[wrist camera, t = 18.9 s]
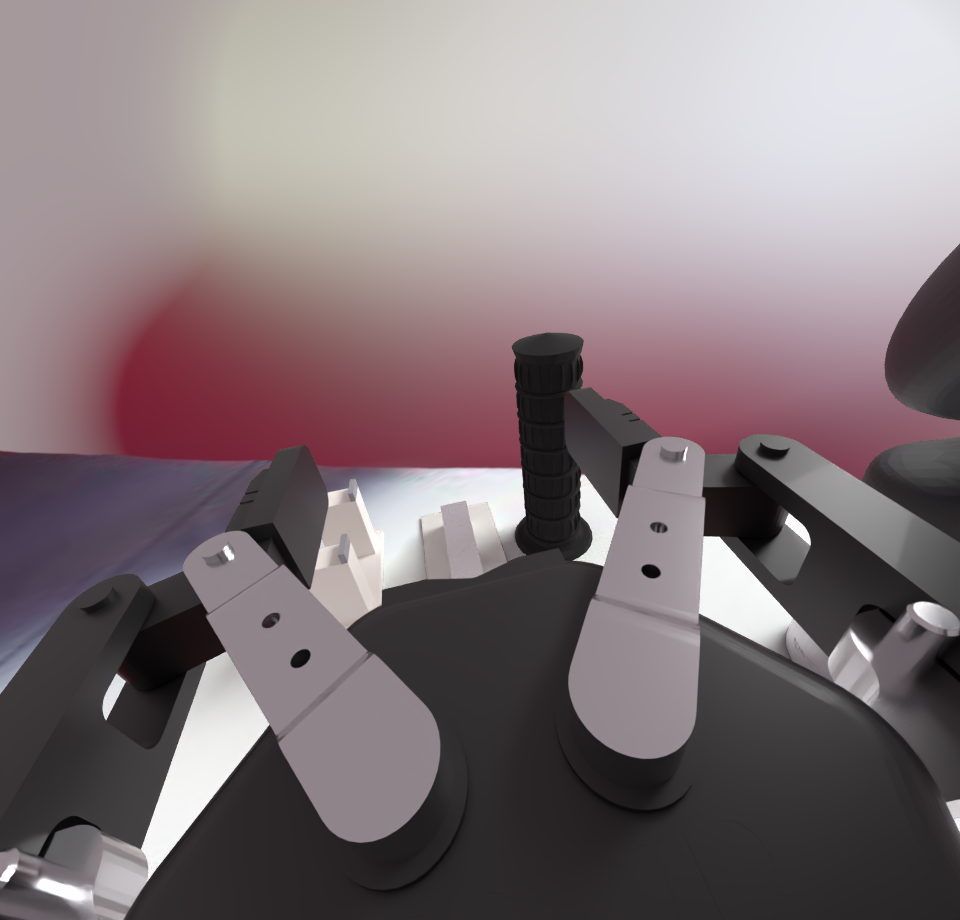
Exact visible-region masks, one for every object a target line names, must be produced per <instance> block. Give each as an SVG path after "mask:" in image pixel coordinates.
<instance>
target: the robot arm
mask: <svg viewBox="0 0 960 920" xmlns="http://www.w3.org/2000/svg"><path fill="white" fill-rule="evenodd" d="M885 378H886V381H887V384H888V387H889V389H890V391H891V392H892V394H893V395H894V396H895V398H896V399H897V400H899V401H900V402H901V403H903V404H904V405H905V406H907V407H909V408H912V409H914V410H917V411H920V412H923V413H926V414H930V415H934V416H937V417H942V418H947V419H955V420H960V244H959V245H958V246H957V247H956V248H955V250H953V251H952V252H951V253H950V254H949V256H948V257H947V258H946V259H945V260H944V261H943V262H942V263H941V264H940V265H939V266H938V268H937V269H936V270H935V271H934V272H933V274H932V275H931V276H930V277H929V278H928V279H927V281H926V282H925V283H924V284H923V285H922V287H921V288H920V290H919V291H918V292H917V294H916V295H915V296H914V298H913V299H912V301H911V302H910V304H909V305H908V307H907V309H906V310H905V312H904V314H903V316H902V317H901V319H900V320H899V322H898V324H897V326H896V328H895V330H894V332H893V334H892V337H891V339H890V342H889V345H888V348H887V352H886V358H885ZM564 418H565V442H566V446H567V449H568V451H569V453H570V455H571V456H572V458H573V459H574V460H575V462H576V463H577V465H578V466H579V467H580V469H581V470H582V471H583V473H584V474H585V476H586V477H587V478H588V480H589V481H590V482H591V484H592V485H593V486H594V488H595V489H596V491H597V492H598V493H599V495H600V496H601V497H602V499H603V500H604V502H605V503H606V504H607V506H608V507H609V508H610V510H611V511H612V512H613V514H614V515H615V517H616V518H618V521H617V525H616V528H615V531H614V535H613V538H612V541H611V545H610V548H609V551H608V555H607V558H606V562H605V565H604V567H603V566H600V565H597V564H593V563H588V562H582V561H565V560H564V558H563V556H562V554H561V551H560V549H559V548H556V549H552V550H548V551H543V552H539V553H535V554H531V555H527V556H522V557H518V558H515V559H513V560H511V561H509V562H507V563H505V564H503V565H501V566H498V567H496V568H494V569H492V570H490V571H488V572H486V573H484V574H482V575H479V576H477V577H474V578H458V579H426V580H422V581H418V582H413V583H409V584H405V585H401V586H397V587H392V588H388V589H384V590H382V604H381V605H380V606H378V607H376V608H375V609H373V610H371V611H369V612H368V613H366V614H365V615H363V616H362V617H360V618H359V619H358V620H356V621H355V622H354V623H353V624H352V625H351V626H349V627H348V628H347V629H345V627H344V626H343V625H342V624H341V623H340V622H339V621H338V620H337V619H336V618H335V617H334V616H333V615H332V614H331V613H330V612H329V611H328V610H327V609H326V608H325V607H324V606H323V605H322V604H321V603H320V602H319V600H318V599H317V598H316V597H315V596H314V595H313V594H312V593H311V592H310V591H309V590H310V589H311V585H312V581H313V576H314V571H315V567H316V562H317V557H318V553H319V548H320V543H321V539H322V534H323V529H324V525H325V520H326V515H327V511H328V506H329V500H328V493H327V489H326V487H325V484H324V482H323V480H322V477H321V475H320V473H319V470H318V468H317V466H316V463H315V461H314V459H313V457H312V454H311V452H310V450H309V449H308V447H307V446H306V445H302V446H297V447H292V448H287V449H282V450H278V451H277V453H276V455H275V457H274V459H273V461H272V463H271V466H270V468H269V469H265V470H263V471H262V472H261V473H260V474H259V475H258V476H256V477H255V478H254V479H253V480H252V481H251V483H250V484H249V486H248V488H247V490H246V492H245V495H244V496H243V498H242V500H241V502H240V505H239V506H238V508H237V510H236V511H235V513H234V515H233V517H232V519H231V521H230V523H229V525H228V527H227V529H226V531H225V533H223V534H220V535H217V536H215V537H213V538H211V539H209V540H207V541H206V542H204V543H202V544H201V545H200V546H198V547H197V548H196V549H195V550H194V551H193V552H192V553H191V554H190V555H189V556H188V557H187V559H186V560H185V562H184V565H183V572H181V573H178V574H176V575H174V576H171V577H169V578H166V579H164V580H162V581H159V582H157V583H155V584H152V585H150V586H148V587H147V586H146V585H145V584H144V582H143V581H142V580H141V579H140V578H139V577H138V576H136V575H133V574H124V575H119V576H115V577H112V578H109V579H107V580H104V581H102V582H100V583H98V584H96V585H95V586H93V587H91V588H90V589H88V590H86V591H85V592H83V593H82V594H81V595H79V596H78V597H77V598H76V599H74V600H73V601H72V602H71V603H70V604H69V605H68V606H67V607H66V608H65V610H64V611H63V612H62V613H61V615H60V616H59V617H58V619H57V620H56V621H55V623H54V624H53V625H52V627H51V628H50V629H49V631H48V632H47V633H46V635H45V636H44V637H43V639H42V640H41V641H40V643H39V644H38V645H37V647H36V648H35V649H34V650H33V652H32V653H31V654H30V656H29V657H28V658H27V660H26V661H25V662H24V664H23V665H22V666H21V668H20V669H19V670H18V672H17V673H16V674H15V676H14V677H13V678H12V680H11V681H10V682H9V684H8V685H7V686H6V688H5V689H4V690H3V691H2V693H1V694H0V920H960V832H959V830H958V828H957V826H956V824H955V821H954V819H957V818H960V437H956V438H948V439H939V440H930V441H920V442H913V443H907V444H903V445H899V446H896V447H893V448H890V449H888V450H886V451H884V452H882V453H881V454H879V455H878V456H877V457H875V458H874V460H873V461H872V462H871V463H870V465H869V466H868V468H867V470H866V471H865V474H864V476H863V478H862V480H861V481H860V480H859V479H857V478H855V477H854V476H852V475H851V474H849V473H847V472H846V471H844V470H842V469H841V468H839V467H838V466H836V465H834V464H833V463H831V462H830V461H828V460H826V459H825V458H823V457H822V456H820V455H819V454H817V453H815V452H814V451H812V450H810V449H809V448H807V447H806V446H804V445H803V444H801V443H799V442H797V441H795V440H792V439H789V438H786V437H782V436H777V435H769V434H758V435H751V436H748V437H745V438H744V439H742V440H741V442H740V444H739V447H738V451H737V454H705V453H704V450H703V449H702V448H701V447H700V446H699V445H698V444H696V443H694V442H692V441H689V440H686V439H683V438H677V437H662V436H660V435H659V434H658V433H657V432H656V431H655V430H653V429H652V428H651V427H650V426H649V425H647V424H646V423H645V422H644V421H643V420H640V418H639V417H638V416H636V415H635V414H633V413H632V411H631V410H629V409H628V408H627V407H626V406H624V405H623V404H621V403H619V402H616V401H613V400H610V399H606V400H604V399H603V398H602V397H601V396H600V395H599V394H597V392H595V391H594V390H593V389H592V388H590V387H589V388H583V389H579V390H574V391H569V392H566V394H565V397H564ZM788 513H790V514H791V515H792V516H793V517H795V518H796V519H797V520H798V521H799V522H801V523H802V524H803V525H804V526H805V528H806V529H807V531H808V533H809V535H810V539H811V546H810V545H809V544H807V543H806V542H805V541H804V540H803V539H802V538H801V537H799V536H798V535H797V534H796V533H795V532H794V531H793V530H791V529H790V528H789V527H788V526H787V525H786V524H785V521H786V518H787V516H788ZM703 536H716V537H720V538H721V539H722V540H723V541H724V542H725V543H726V545H727V546H728V547H729V548H730V549H731V550H732V551H733V552H734V553H735V554H736V556H737V557H738V558H739V559H740V560H741V561H742V562H743V563H744V564H745V566H746V567H747V568H748V569H749V570H750V571H751V572H752V573H753V574H754V576H755V577H756V578H757V579H758V580H759V581H760V582H761V583H762V584H763V585H764V587H765V588H766V589H767V590H768V591H769V592H770V593H771V594H772V595H773V597H774V598H775V599H776V600H777V601H778V602H779V603H780V604H781V605H782V607H783V608H784V609H785V610H786V611H787V612H788V613H789V614H790V615H791V616H792V618H793V620H792V622H791V624H790V626H789V628H788V631H787V634H786V646H787V650H788V653H789V655H790V657H791V659H792V661H791V660H789V659H787V658H785V657H784V656H782V655H780V654H778V653H776V652H774V651H772V650H770V649H768V648H766V647H764V646H762V645H760V644H758V643H756V642H754V641H752V640H750V639H748V638H746V637H744V636H742V635H740V634H738V633H736V632H734V631H732V630H730V629H728V628H726V627H725V626H723V625H721V624H719V623H717V622H715V621H713V620H711V619H709V618H707V617H705V616H703V615H701V614H699V600H700V584H701V567H702V550H703ZM226 651H227V653H228V655H229V656H230V658H231V660H232V661H233V663H234V665H235V667H236V668H237V670H238V672H239V673H240V675H241V677H242V678H243V680H244V682H245V683H246V685H247V687H248V688H249V690H250V692H251V694H252V695H253V697H254V699H255V700H256V702H257V704H258V705H259V707H260V709H261V710H262V712H263V714H264V716H265V717H266V719H267V721H268V722H269V724H270V725H269V726H268V727H267V729H266V730H265V731H264V733H263V734H262V735H261V736H260V738H259V739H258V740H257V741H256V743H255V744H254V745H253V747H252V748H251V749H250V750H249V752H248V753H247V754H246V756H245V757H244V758H243V759H242V761H241V762H240V763H239V764H238V766H237V767H236V768H235V770H234V771H233V772H232V773H231V775H230V776H229V777H228V779H227V780H226V781H225V782H224V784H223V785H222V786H221V787H220V789H219V790H218V791H217V793H216V794H215V795H214V796H213V798H212V799H211V800H210V802H209V803H208V804H207V805H206V807H205V808H204V809H203V810H202V812H201V813H200V814H199V816H198V817H197V818H196V819H195V821H194V822H193V823H192V824H191V826H190V827H189V828H188V830H187V831H186V832H185V833H184V835H183V836H182V837H181V839H180V840H179V841H178V842H177V844H176V845H175V846H174V847H173V849H172V850H171V851H170V853H169V854H168V855H167V856H166V858H165V859H164V860H163V862H162V863H161V864H160V865H159V867H158V868H157V869H156V871H155V872H154V873H153V875H152V876H151V877H150V879H149V880H148V882H147V877H148V863H147V859H146V856H145V854H144V853H143V852H142V850H141V847H142V845H143V842H144V839H145V836H146V833H147V830H148V827H149V825H150V822H151V819H152V816H153V813H154V810H155V807H156V805H157V802H158V799H159V796H160V793H161V790H162V787H163V785H164V782H165V779H166V776H167V773H168V770H169V767H170V765H171V762H172V759H173V756H174V753H175V750H176V747H177V745H178V742H179V739H180V736H181V733H182V730H183V727H184V725H185V722H186V719H187V716H188V713H189V710H190V707H191V705H192V702H193V699H194V696H195V693H196V690H197V687H198V685H199V682H200V679H201V676H202V673H203V670H204V667H205V665H206V661H208V660H210V659H212V658H214V657H216V656H218V655H220V654H222V653H224V652H226ZM116 673H117V674H118V675H119V676H120V677H121V678H123V679H124V680H125V681H126V683H125V685H124V687H123V688H122V690H121V692H120V694H119V696H118V698H117V700H116V702H115V704H114V706H113V708H112V710H111V712H110V714H109V716H108V718H107V720H105V718H104V716H103V710H102V705H103V699H104V696H105V694H106V692H107V690H108V688H109V686H110V684H111V682H112V680H113V679H114V677H115V675H116Z"/></svg>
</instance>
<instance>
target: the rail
mask: <svg viewBox="0 0 960 920" xmlns="http://www.w3.org/2000/svg"><path fill="white" fill-rule="evenodd" d="M441 512H442V519H443V525H444V532H445V538H446V544H447V551H448V557H449V564H450V570H451V576H452V579H458V578H474V577H477V576H479V575H482V574H484V573H483V569H482V565H481V560H480V556H479V552H478V548H477V544H476V540H475V536H474V532H473V528H472V524H471V520H470V516H469V512H468V508H467V504H466V501H463V502H458V503H453V504H448V505H444V506H441Z"/></svg>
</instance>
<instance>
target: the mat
mask: <svg viewBox="0 0 960 920" xmlns="http://www.w3.org/2000/svg"><path fill="white" fill-rule="evenodd" d="M467 508H468V512H469V516H470V520H471V524H472V528H473V532H474V536H475V540H476V544H477V548H478V552H479V556H480V560H481V565H482V569H483V573H486V572H488V571H490V570H492V569H494V568H496V567H498V566H501V565H503V564H505V563H507V559H506V556H505V553H504V550H503V547H502V544H501V541H500V538H499V535H498V532H497V529H496V526H495V523H494V520H493V517H492V514H491V511H490V508H489V505H488V502H485V503H480V504H476V505H471V506H467ZM421 520H422V531H423V541H424V552H425V563H426V574H427V579H452V576H451V570H450V564H449V557H448V551H447V544H446V538H445V532H444V525H443V519H442V512H439V513H434V514H429V515H425V516H421Z"/></svg>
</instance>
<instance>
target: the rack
mask: <svg viewBox="0 0 960 920" xmlns="http://www.w3.org/2000/svg"><path fill="white" fill-rule="evenodd" d="M328 500H329V506H328V511H327V515H326V520H325V525H324V529H323V534H322V540H323V543H324V545H325V547H323V548H319V553H318V557H317V562H316V567H315V571H314V576H313V581H312V585H311V589H310V590H309V591H310V592H311V593H312V594H313V595H314V596H315V597H316V598H317V599H318V600H319V602H320V603H321V604H322V605H323V606H324V607H325V608H326V609H327V610H328V611H329V612H330V613H331V614H332V615H333V616H334V617H335V618H336V619H337V620H338V621H339V622H340V623H341V624H342V625H343V626H344V627H345V629H347V628H348V627H349V626H351V625H352V624H353V623H354V622H355V621H356V620H358V619H359V618H360V617H362V616H363V615H365V614H366V613H368V612H369V611H371V610H373V609H375V608H376V607H378V606H380V605H381V604H382V590H383V560H384V534H383V531H382V529H381V530H377V531H374V530H373V527H372V525H371V522H370V519H369V516H368V513H367V511H366V508H365V505H364V502H363V500H362V497H361V494H360V491H359V489H358V486H357V483H356V480H355V479H351V480H350V483H349V488H348V489H343V490H338V491H334V492H329V493H328Z"/></svg>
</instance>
